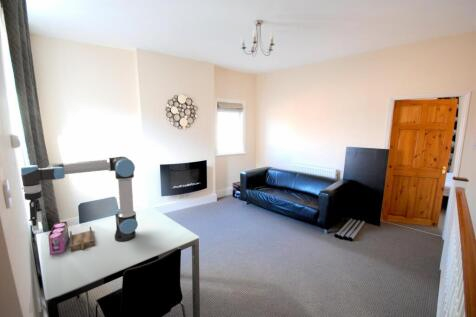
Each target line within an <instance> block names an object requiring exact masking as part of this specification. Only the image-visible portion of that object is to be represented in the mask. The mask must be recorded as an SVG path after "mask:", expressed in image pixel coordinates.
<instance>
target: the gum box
mask: <svg viewBox="0 0 476 317" xmlns="http://www.w3.org/2000/svg"><path fill="white" fill-rule="evenodd" d="M47 237H48V247H49V248H48V249H49V256H52V255H56V254H61V253H64V252H65V250H66V247H67V244H68V242H69V241H70V232H69V225H68V221H61V222H55V223H54V224H53V226H52V229H51V230H50V232H49V234H48V236H47Z"/></svg>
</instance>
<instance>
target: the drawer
mask: <svg viewBox="0 0 476 317" xmlns="http://www.w3.org/2000/svg"><path fill="white" fill-rule="evenodd" d="M93 234H94V233H93V230H92V226H89V230H88V231H84V232H79V233H78V232H77V233H75V234H72V230H70V231H69V244H70V245H69V246H70V252H74V251H78V250H82V251H84V250H85V248H90V247H93V246H95V240H94V239H95V238H94V235H93Z"/></svg>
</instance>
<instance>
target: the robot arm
mask: <svg viewBox="0 0 476 317" xmlns="http://www.w3.org/2000/svg"><path fill="white" fill-rule="evenodd" d="M135 168H136V166H135V164H134V162H133V161H132V160H131V159H129V158H127V157H125V156H116V157H108V158H106V159H98V160H87V161H75V162H63V163H62V162H61V163H60V162H59V163H58V162H57V163H56V162H53V163H50V164H48V166H46V167H42V168H40V167H39V166H38V164H37V165H35V164H34V165H33V164H30V165H28V164H27V165H24V166H22V167H20V173H21V175H20V176H21V180H22V188H21V189H22V190H23V193H24V199H25V201H29V203H28V206H29V218H30V219H29V220H28V221H29V222H30V223H31V228H32V232H37V231H39V230H40V226H39V223H40V222H41V223H42V222H43V219H42V211H43V209H42V206H41V203H40V200H39V199H41V198H42V196H43V193H42V186H41V182H44V181H53V180H55V181H57V180H61V179H62V180H63V179H64V178H66V175H70V174H71V175H72V174H81V173H91V172H100V171H108V172H115V179H116V180H117V181H118V183H117V184H118V197H119V209H116V210H115V212H114V215H115V225H116V227H115V228H116V229H115V233H114V241H115V242H116V241H117V242H121V243H122V242H127V241H131V240H132V239H135V238H136V235H137V232H136V230H137V228H138V227H139V226H138V221H137V212H136V211H135V210H134V199H133V198H134V197H133V178H134V177H135V174H134V172H135V170H136V169H135Z"/></svg>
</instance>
